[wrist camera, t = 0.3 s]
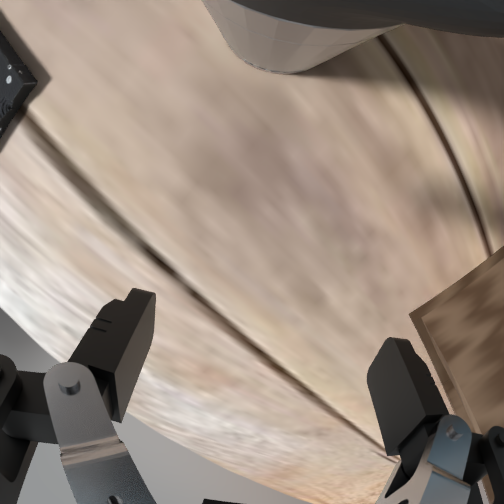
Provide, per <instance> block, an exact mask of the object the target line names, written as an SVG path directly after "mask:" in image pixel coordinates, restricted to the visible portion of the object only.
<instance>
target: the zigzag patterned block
mask: <svg viewBox="0 0 504 504" xmlns="http://www.w3.org/2000/svg"><path fill="white" fill-rule="evenodd" d="M409 316H410V318H411V320H412V322H413V324H414V326H415V328H416V330H417V332H418V334H419V336H420V338H421V340H422V342H423V344H424V346H425V348H426V350H427V352H428V354H429V357H430V359H431V361H432V363H433V365H434V367H435V370H436V372H437V374H438V376H439V379H440V381H441V383H442V385H443V388H444V390H445V392H446V395H447V397H448V400H449V402H450V404H451V406H452V408H453V411H454V413H455V415H456V416H458V417H460V418H462V419H463V420H464V421H465V422H466V423H467V424H468V426H469V428H470V430H471V432H473V433H478V434H482V435H484V434H485V433H486V432H487V431H488V430H489V429H490V428H491V427H493V426H500V427H503V428H504V246H503V247H502V248H501V249H499V250H498V251H497V252H496V253H494V254H493V255H492V256H491V257H489V258H488V259H487V260H486V261H484V262H483V263H482V264H480V265H479V266H478V267H476V268H475V269H474V270H472V271H471V272H470V273H468V274H467V275H466V276H464V277H463V278H462V279H460V280H459V281H457V282H456V283H455V284H453V285H452V286H450V287H449V288H447V289H446V290H445V291H443V292H442V293H440V294H439V295H437V296H436V297H434V298H433V299H431V300H430V301H428V302H427V303H425V304H424V305H422V306H421V307H419V308H418V309H416V310H415V311H413V312H411V313H410V314H409ZM481 480H482V483H483V486H484V489H485V492H486V495H487V498H488V501H489V504H493V502H494V492H493V489H492V486H491V483H490V479H489V476H488V474H487V475H486V476H485V477H483V478H482V479H481Z"/></svg>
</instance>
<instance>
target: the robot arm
mask: <svg viewBox="0 0 504 504" xmlns="http://www.w3.org/2000/svg"><path fill="white" fill-rule="evenodd" d="M202 2H203V3H204V5H205V7H206V8H207V10H208V11H209V13H210V15H211V16H212V18H213V20H214V21H215V23H216V25H217V26H218V28H219V30H220V31H221V33H222V35H223V37H224V38H225V40H226V41H227V43H228V45H229V47H230V48H231V49H232V50H233V52H234V53H235V54H236V55H237V56H238V57H239V58H240V59H242V60H243V61H244V62H246V63H247V64H249V65H251V66H253V67H255V68H257V69H259V70H262V71H266V72H270V73H277V74H291V73H298V72H302V71H305V70H309V69H311V68H313V67H315V66H317V65H319V64H321V63H323V62H325V61H327V60H329V59H331V58H333V57H335V56H337V55H339V54H341V53H343V52H345V51H347V50H349V49H351V48H353V47H355V46H357V45H359V44H362V43H364V42H366V41H368V40H370V39H372V38H375V37H377V36H379V35H381V34H383V33H385V32H388V31H390V30H392V29H395V28H397V27H399V26H402V25H404V24H410V25H415V26H419V27H425V28H430V29H435V30H440V31H446V32H452V33H458V34H465V35H473V36H483V37H498V38H504V0H202ZM155 304H156V294H155V293H153V292H149V291H145V290H141V289H137V288H132V290H131V291H130V293H129V294H128V296H127V298H126V299H125V301H121V300H117V299H114V300H112V301H111V302H109V303H108V304H106V305H105V306H103V307H102V309H101V310H100V312H99V313H98V315H97V316H96V319H94V321H93V322H92V324H91V325H90V328H89V329H88V330H87V332H86V333H85V335H84V336H83V338H82V340H81V341H80V343H79V344H78V346H77V348H76V349H75V351H74V352H73V354H72V356H71V357H70V359H69V360H68V362H64V363H60V364H57V365H55V366H53V367H52V368H51V369H49V371H48V372H47V373H36V372H27V371H18V370H17V369H16V366H15V364H14V362H13V361H12V360H11V359H10V358H9V357H7V356H4V355H1V354H0V504H17V500H18V497H19V494H20V491H21V488H22V485H23V482H24V479H25V476H26V474H27V471H28V468H29V466H30V463H31V460H32V457H33V455H34V452H35V450H36V447H37V445H38V442H43V443H52V444H59V447H60V451H61V454H60V457H61V461H62V465H63V468H64V471H65V473H66V476H67V479H68V482H69V484H70V487H71V490H72V492H73V494H74V497H75V499H76V502H77V504H156V502H155V500H154V499H153V497H152V495H151V493H150V492H149V490H148V488H147V487H146V485H145V483H144V481H143V479H142V477H141V475H140V474H139V472H138V470H137V468H136V466H135V464H134V462H133V460H132V458H131V456H130V454H129V452H128V450H127V448H126V446H125V444H124V443H123V442H122V441H120V439H119V438H118V435H117V433H116V431H115V429H114V426H113V424H112V422H111V420H112V421H116V422H119V423H122V420H123V417H124V414H125V412H126V409H127V406H128V403H129V401H130V398H131V395H132V393H133V390H134V387H135V385H136V382H137V380H138V377H139V374H140V372H141V369H142V367H143V364H144V361H145V359H146V356H147V354H148V351H149V349H150V346H151V343H152V339H153V334H154V321H155ZM367 384H368V388H369V391H370V395H371V398H372V402H373V405H374V409H375V412H376V416H377V419H378V423H379V427H380V430H381V434H382V438H383V442H384V446H385V450H386V454H387V456H394V455H400V457H401V460H400V461H398V462H397V464H396V465H395V467H394V469H393V471H392V473H391V475H390V477H389V479H388V481H387V483H386V485H385V487H384V489H383V491H382V493H381V494H380V496H379V498H378V500H377V501H376V503H375V504H483V501H482V498H481V494H480V490H479V487H478V483H477V482H478V481H479V480H481V479H482V478H483V477H485V476H486V475H487V474H488V476H489V479H490V483H491V486H492V489H493V492H494V502H493V504H504V428H503V427H500V426H493V427H491V428H490V429H489V430H488V431H487V432H486V433H485V434H484V435H482V434H478V433H473V432H471V430H470V428H469V426H468V424H467V423H466V422H465V421H464V420H463V419H462V418H460V417H458V416H456V415H452V414H449V412H448V410H447V408H446V405H445V403H444V401H443V399H442V397H441V394H440V392H439V390H438V388H437V386H436V385H435V382H434V379H433V377H431V373H430V371H429V369H428V367H427V365H426V363H425V362H424V361H423V360H422V359H421V358H420V357H419V356H418V355H417V354H416V353H415V351H414V349H413V347H412V345H411V343H410V341H409V340H407V339H400V338H392V337H389V338H387V339H386V340H385V342H384V344H383V345H382V347H381V349H380V350H379V352H378V354H377V356H376V357H375V359H374V361H373V362H372V364H371V366H370V367H369V370H368V373H367ZM202 504H240V503H231V502H223V501H217V500H209V499H204V500H203V503H202Z"/></svg>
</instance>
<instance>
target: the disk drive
mask: <svg viewBox="0 0 504 504" xmlns="http://www.w3.org/2000/svg"><path fill="white" fill-rule="evenodd" d="M36 84H37V80H35V78H34V77H33V75H32V74H31V72H30V70H29V69H28V68H27V66H26V65H24V63H23V62H22V61H21V59H20V58H19V57H18V55H17V54H16V52H15V51H14V50H13V48H12V47H11V46H10V44H9V42H8V41H7V40H6V38H5V37H4V36H3V34H2V33H1V31H0V138H1V137H2V135H3V133H4V131H5V130H6V128H7V127H8V125H9V124H10V122H11V120H12V119H13V117H14V116H15V114H16V113H17V111H18V110H19V108H20V107H21V105H22V104H23V103H24V101H25V100H26V98H27V96H28V95H29V93H30V92H31V91H32V90H33V88H34V87H35V85H36Z"/></svg>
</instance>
